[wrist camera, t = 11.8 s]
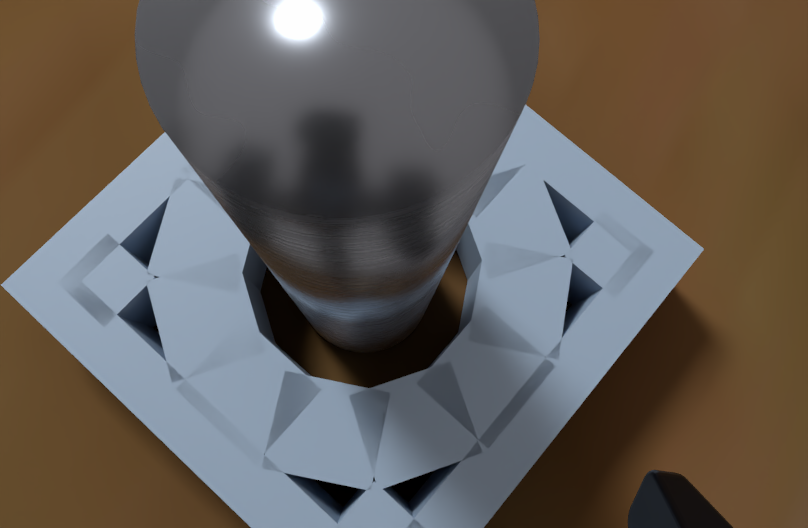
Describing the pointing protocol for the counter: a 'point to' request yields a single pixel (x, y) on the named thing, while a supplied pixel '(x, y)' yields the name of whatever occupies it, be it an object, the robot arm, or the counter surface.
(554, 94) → the counter surface
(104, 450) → the counter surface
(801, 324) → the counter surface
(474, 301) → the holder
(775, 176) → the counter surface
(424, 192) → the round bit
